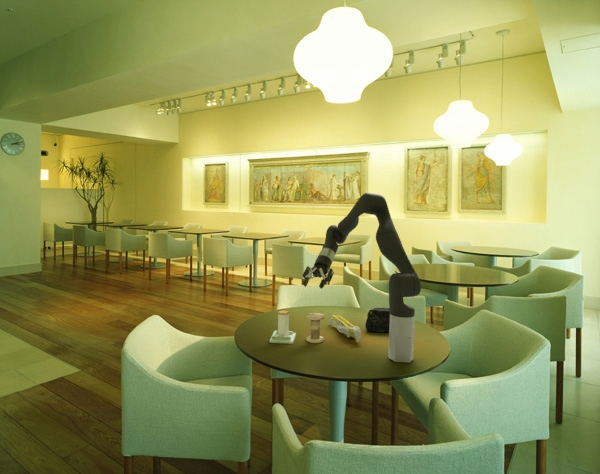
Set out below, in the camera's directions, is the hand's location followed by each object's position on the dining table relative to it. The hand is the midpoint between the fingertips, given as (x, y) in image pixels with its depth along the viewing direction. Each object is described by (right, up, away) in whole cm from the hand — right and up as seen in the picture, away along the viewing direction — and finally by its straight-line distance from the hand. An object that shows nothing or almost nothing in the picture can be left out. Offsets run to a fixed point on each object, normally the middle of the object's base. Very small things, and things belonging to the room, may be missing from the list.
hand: (312, 286), depth 191 cm
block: (-13, -21, -9) cm, 26 cm away
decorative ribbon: (+15, -22, 0) cm, 27 cm away
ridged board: (-13, -22, -9) cm, 27 cm away
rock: (+35, -22, +8) cm, 42 cm away
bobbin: (+1, -22, -10) cm, 24 cm away
